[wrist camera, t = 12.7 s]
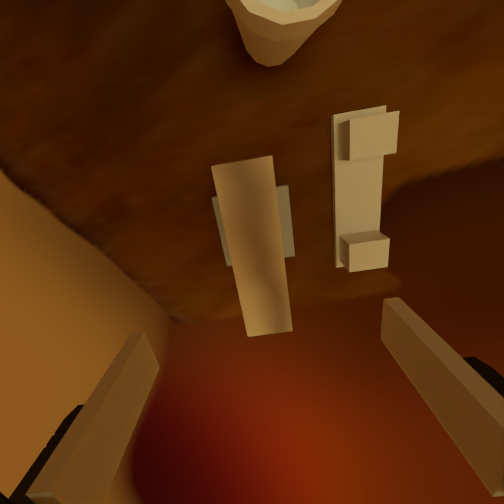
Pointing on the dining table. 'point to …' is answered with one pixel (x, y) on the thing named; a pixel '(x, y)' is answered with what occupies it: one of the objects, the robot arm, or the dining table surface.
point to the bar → (255, 242)
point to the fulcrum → (283, 216)
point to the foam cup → (278, 25)
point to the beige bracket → (360, 185)
